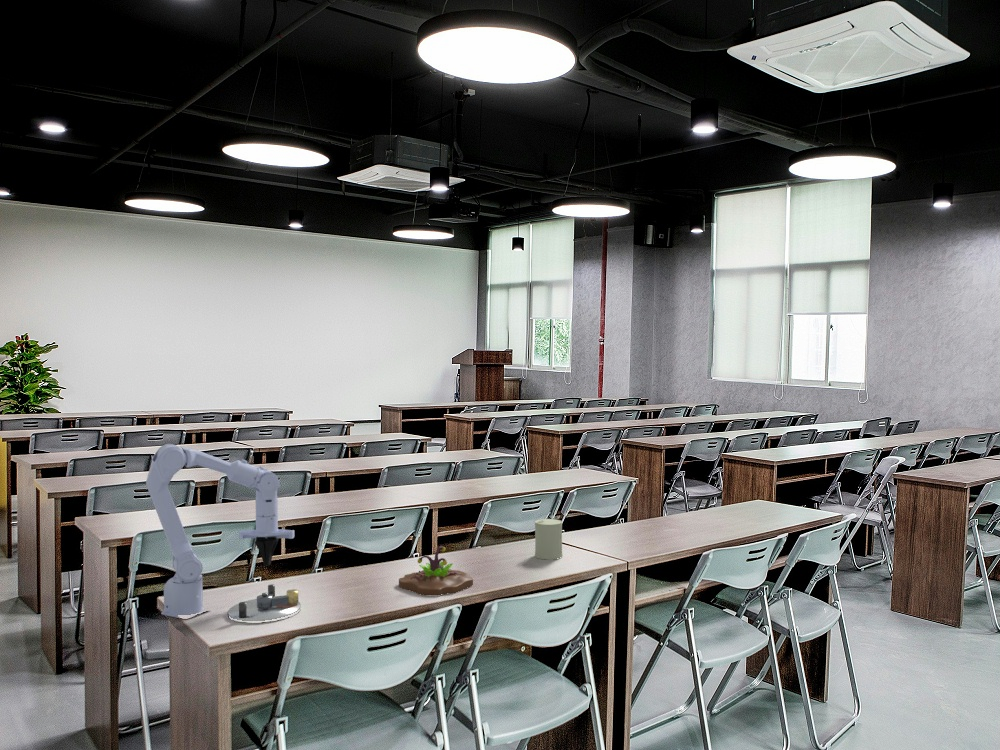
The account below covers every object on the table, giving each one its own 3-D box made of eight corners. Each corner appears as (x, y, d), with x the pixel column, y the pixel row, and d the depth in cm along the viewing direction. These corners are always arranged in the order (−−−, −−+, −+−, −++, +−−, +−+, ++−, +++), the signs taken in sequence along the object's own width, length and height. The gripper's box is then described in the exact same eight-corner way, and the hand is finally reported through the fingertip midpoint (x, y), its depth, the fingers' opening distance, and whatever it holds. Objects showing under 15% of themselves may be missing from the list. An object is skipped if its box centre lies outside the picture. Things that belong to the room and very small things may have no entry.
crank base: (212, 616, 193) (212, 598, 193) (265, 597, 209) (265, 580, 209) (264, 628, 185) (264, 608, 184) (315, 606, 200) (314, 588, 200)
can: (530, 554, 254) (530, 518, 253) (556, 551, 256) (556, 516, 256) (540, 560, 245) (540, 524, 245) (566, 558, 248) (566, 522, 247)
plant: (485, 585, 219) (485, 547, 219) (432, 600, 206) (432, 559, 206) (441, 572, 234) (441, 536, 234) (389, 585, 220) (389, 547, 220)
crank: (257, 609, 194) (257, 597, 194) (256, 605, 198) (256, 592, 198) (299, 604, 198) (299, 592, 198) (297, 600, 202) (297, 588, 202)
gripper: (234, 518, 201) (235, 568, 202) (288, 517, 201) (289, 568, 201) (244, 512, 208) (244, 561, 209) (296, 512, 208) (297, 561, 208)
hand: (267, 564), depth 206 cm, fingers closed
